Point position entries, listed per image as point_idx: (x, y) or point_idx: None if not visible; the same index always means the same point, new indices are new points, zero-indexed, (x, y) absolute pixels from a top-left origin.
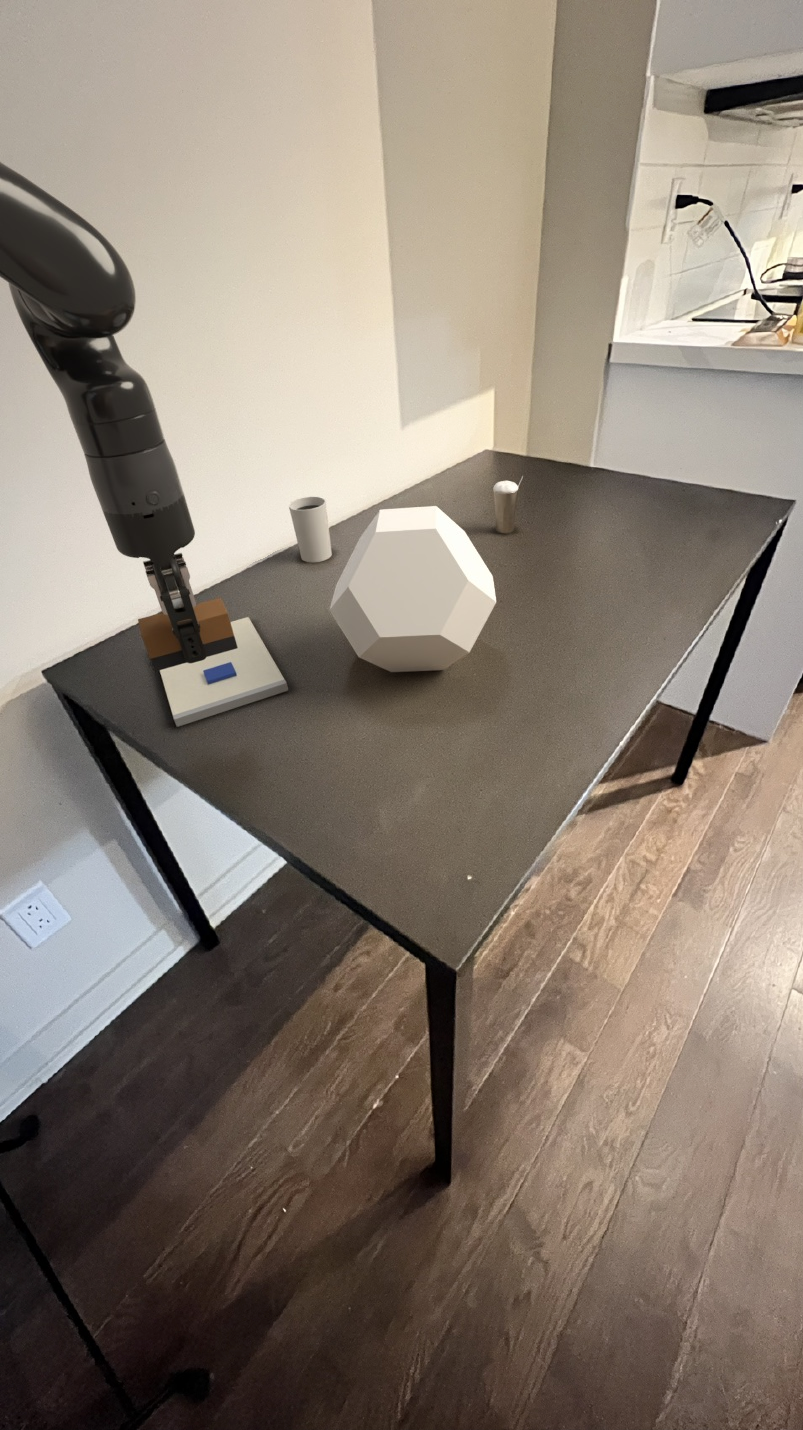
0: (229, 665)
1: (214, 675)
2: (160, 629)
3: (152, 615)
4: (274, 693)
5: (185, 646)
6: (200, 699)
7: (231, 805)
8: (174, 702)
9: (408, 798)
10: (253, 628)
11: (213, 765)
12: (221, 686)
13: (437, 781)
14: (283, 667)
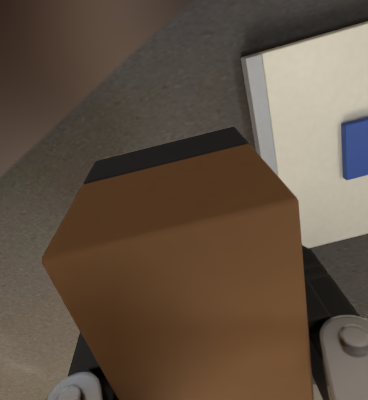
0: None
1: (358, 139)
2: (96, 345)
3: (299, 280)
4: None
5: (77, 343)
6: (295, 110)
7: (8, 173)
8: (309, 52)
9: (14, 359)
10: None
11: (108, 139)
12: (320, 150)
13: (39, 382)
14: (341, 240)
